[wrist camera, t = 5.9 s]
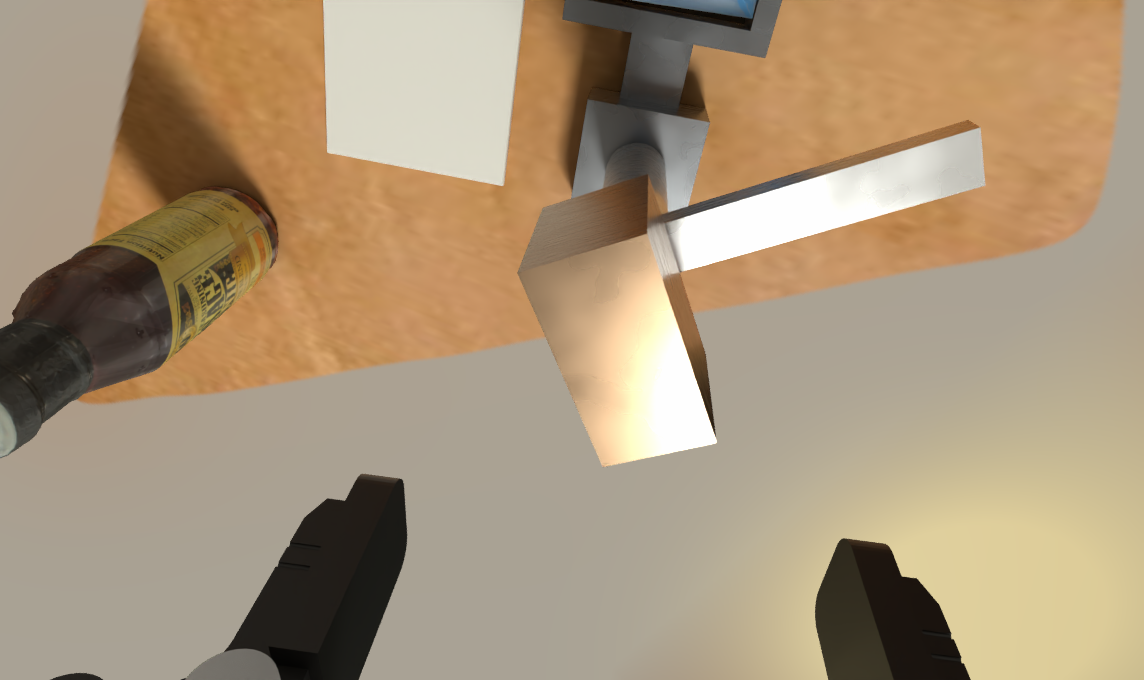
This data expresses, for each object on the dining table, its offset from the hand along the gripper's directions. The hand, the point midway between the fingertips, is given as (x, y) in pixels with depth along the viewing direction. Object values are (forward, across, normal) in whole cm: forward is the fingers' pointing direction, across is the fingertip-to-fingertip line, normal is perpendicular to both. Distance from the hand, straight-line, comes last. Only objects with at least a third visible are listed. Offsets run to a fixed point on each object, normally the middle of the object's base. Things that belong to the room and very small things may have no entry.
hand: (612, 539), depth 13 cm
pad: (+28, +12, -3) cm, 31 cm away
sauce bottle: (+29, +24, +8) cm, 38 cm away
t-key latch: (+25, -5, -1) cm, 26 cm away
